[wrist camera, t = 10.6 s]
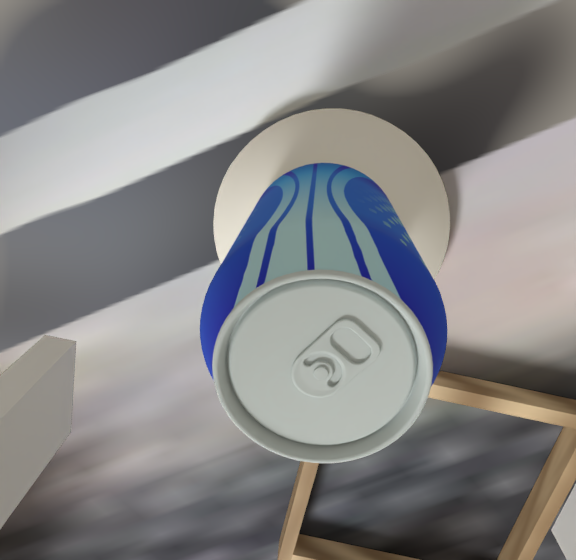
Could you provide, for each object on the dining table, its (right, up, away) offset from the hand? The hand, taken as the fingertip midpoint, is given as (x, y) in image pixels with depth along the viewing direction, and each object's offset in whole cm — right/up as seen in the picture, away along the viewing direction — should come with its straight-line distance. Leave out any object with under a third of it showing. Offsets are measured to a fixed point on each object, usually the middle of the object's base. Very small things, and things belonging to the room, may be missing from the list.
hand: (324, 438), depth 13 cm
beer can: (+1, +7, +17) cm, 19 cm away
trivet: (+2, +7, +18) cm, 20 cm away
